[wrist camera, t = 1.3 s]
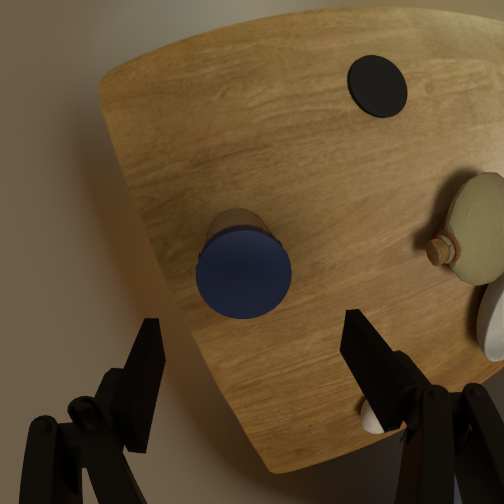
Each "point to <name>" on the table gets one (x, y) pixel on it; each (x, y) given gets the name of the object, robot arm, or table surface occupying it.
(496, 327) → the serving bowl
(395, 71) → the coaster
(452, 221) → the flask
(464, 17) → the table surface
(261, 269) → the jar lid
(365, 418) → the apple
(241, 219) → the jar
